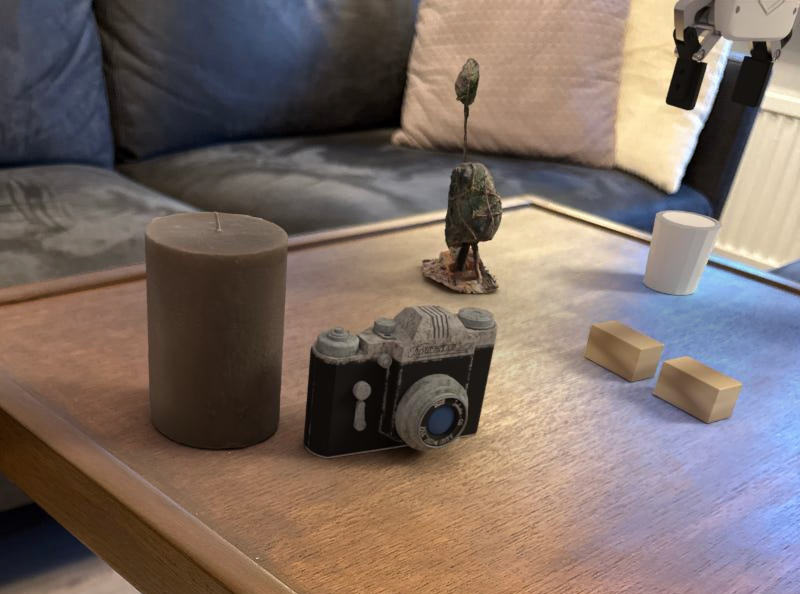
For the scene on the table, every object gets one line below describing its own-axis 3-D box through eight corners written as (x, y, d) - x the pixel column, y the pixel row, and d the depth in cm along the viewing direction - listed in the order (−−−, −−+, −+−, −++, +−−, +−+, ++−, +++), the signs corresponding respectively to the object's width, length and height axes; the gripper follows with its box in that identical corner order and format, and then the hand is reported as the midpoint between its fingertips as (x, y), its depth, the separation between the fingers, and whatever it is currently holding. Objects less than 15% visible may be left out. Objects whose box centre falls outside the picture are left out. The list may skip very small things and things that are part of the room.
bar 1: (654, 376, 87) (664, 344, 85) (631, 382, 86) (640, 349, 84) (606, 351, 91) (614, 319, 89) (582, 356, 89) (591, 324, 88)
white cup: (678, 301, 103) (700, 232, 99) (624, 281, 107) (643, 214, 103) (713, 290, 107) (735, 223, 103) (659, 271, 111) (679, 205, 106)
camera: (334, 482, 68) (348, 343, 62) (294, 437, 73) (304, 304, 66) (510, 452, 74) (540, 322, 67) (463, 412, 78) (487, 287, 72)
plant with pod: (421, 298, 98) (454, 70, 85) (419, 261, 106) (449, 49, 94) (502, 307, 98) (547, 79, 85) (493, 269, 106) (533, 58, 94)
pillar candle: (253, 461, 69) (262, 243, 60) (127, 433, 71) (116, 217, 62) (296, 406, 77) (310, 204, 67) (180, 381, 78) (178, 181, 69)
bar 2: (730, 417, 82) (743, 383, 80) (707, 423, 80) (719, 389, 78) (676, 388, 85) (686, 355, 84) (652, 394, 84) (662, 360, 82)
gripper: (750, -117, 79) (682, 118, 90) (875, -102, 87) (798, 112, 98) (679, -125, 84) (623, 99, 95) (804, -110, 92) (738, 95, 103)
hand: (712, 105), depth 96 cm, fingers open, 9 cm apart
